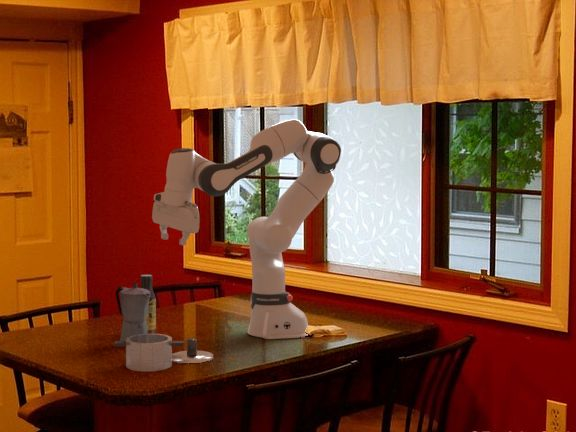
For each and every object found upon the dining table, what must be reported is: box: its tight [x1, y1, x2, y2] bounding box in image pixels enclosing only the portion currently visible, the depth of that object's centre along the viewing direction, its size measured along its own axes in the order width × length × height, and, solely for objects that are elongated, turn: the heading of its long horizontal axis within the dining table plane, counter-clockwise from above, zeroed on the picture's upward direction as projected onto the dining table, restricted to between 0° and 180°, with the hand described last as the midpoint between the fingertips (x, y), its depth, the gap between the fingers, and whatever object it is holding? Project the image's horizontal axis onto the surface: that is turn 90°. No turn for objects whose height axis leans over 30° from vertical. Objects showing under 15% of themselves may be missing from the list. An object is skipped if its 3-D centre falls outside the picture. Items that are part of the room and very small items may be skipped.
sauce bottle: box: [139, 274, 157, 334], centre depth 316 cm, size 6×6×20 cm
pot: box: [113, 333, 185, 372], centre depth 276 cm, size 20×13×8 cm, turn 93°
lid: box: [172, 337, 214, 365], centre depth 284 cm, size 13×13×6 cm
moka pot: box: [115, 282, 151, 341], centre depth 301 cm, size 10×15×20 cm, turn 58°
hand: (173, 242), depth 300 cm, fingers open, 8 cm apart
